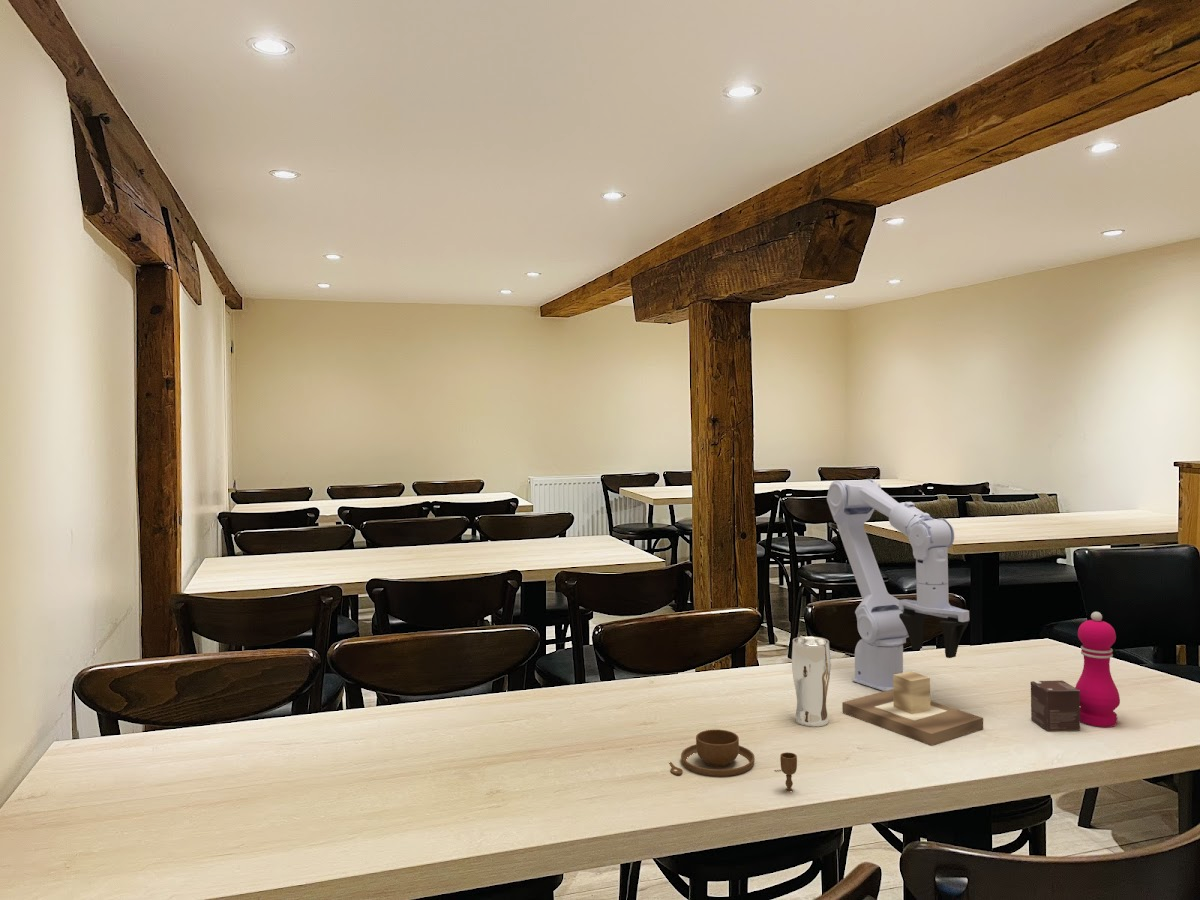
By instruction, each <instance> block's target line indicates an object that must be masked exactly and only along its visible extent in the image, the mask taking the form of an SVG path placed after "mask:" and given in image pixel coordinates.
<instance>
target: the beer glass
mask: <svg viewBox="0 0 1200 900" xmlns="http://www.w3.org/2000/svg"><path fill="white" fill-rule="evenodd" d="M830 650H831V649H830V641H829V640H828V639H827V638H824V637H819V636H812V635H811V636H798V637H795V638H793V639H792V649H791V673H792V677H793V678H792V679H793V682H794V685H793V686H794V688H795V695H796V710H795V715H794V720H795V722H796V723H797V724H799V725H801V726H806V727H811V728H815V727H817V728H819V727H824V726H827V725H828V724H829V721H830V720H829V719H830V718H829V715H828V714H829V713H828V710H827V709H828V708H827V696H828V689H829V684H830V680H831V679H830V678H831V668H832V667H831V665H832V664H831V651H830ZM826 724H827V725H826Z"/></svg>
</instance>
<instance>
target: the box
mask: <svg viewBox="0 0 1200 900" xmlns="http://www.w3.org/2000/svg"><path fill="white" fill-rule="evenodd" d="M1075 687H1076V686H1073V685H1071V684H1069V683H1068V682H1066V681H1064V680H1033V681H1032V680H1031V681H1030V711H1031V712H1030V714H1031V716H1030V720H1031V721H1032V722H1033V723H1035V724H1037V725H1038V726H1040V728H1043V730H1046V731H1048V732H1064V731H1065V732H1067V731H1068V732H1069V731H1072V732H1073V731H1076V732H1077V731H1081V722H1080V690H1078V689H1076V688H1075Z"/></svg>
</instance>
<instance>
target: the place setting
mask: <svg viewBox="0 0 1200 900" xmlns="http://www.w3.org/2000/svg"><path fill="white" fill-rule="evenodd" d="M739 743H740V738H739V736H738V734H736V733H735V732H733V731H730V730H725V729H707V730H703V731H700V732H699V733H697V734H696V736H695V744H692V745H690V746H688V747H686V748H685V749H683V750H682V752H681V754H680V755H681V756H680V757H681V758H680V759H681V761H682V764H683V765H684V767H685V768H686V769H687V770H689V771H691V772H693V773H695V774H698V775H703V776H708V777H715V778H716V777H720V778H721V777H733V776H738V775H739V776H740V775H742V774H744V773H747V772H748V771H750V770H751V769H752V768H753V766H754V764H755V760H756V759H755V758H756V757H755V755H754V753H753V752H752V751H751V750H750V749H748V748H747V747H745V746H741V745H740V744H739ZM693 753H695V754H697V756H698V757H699V758H700V759H701V760H702V761H704V762H705V764H706V765H707V766H710V767H714V768H724V767H727V766H729V765H730V764H731V762H733V761H734V760H736V759H737V757H738V755H739V754H740V756H742V757H744V758H745V759H746V760H748V762H749V763H746V764H745V765H743V766H739V767H736V768H727V769H714V768H706V767H702V766H701V767H700V766H697V765H694V764H692V763H690V762H689V761H687V760H688V758H689V757H691V756H692V754H693ZM690 755H691V756H690ZM693 755H694V754H693ZM687 757H688V758H687ZM779 758H780V759H779V760H780V768H781V769H775V770H773V771H774V772H781V771H782V773H783V774H785V777H786V779H785V786H786V789H785V790H787V791H792V792H794V789H792V787H793V784H794V782H793V779H792V778H793V775H795V773H796V772H797V769H798V756H797V754H795V753H793V752H790V751H789V752H782V753H780V757H779ZM686 759H687V760H686ZM669 762H670V763H669ZM669 762H668V764H669V766H670V769H669V770H670V772H671V773H672V774H673V775H674V776H681V775H682V774H683V769H682V768H680V767H677V766H675V765H674V763H672V762H671V761H669ZM787 791H786V792H787Z"/></svg>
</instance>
